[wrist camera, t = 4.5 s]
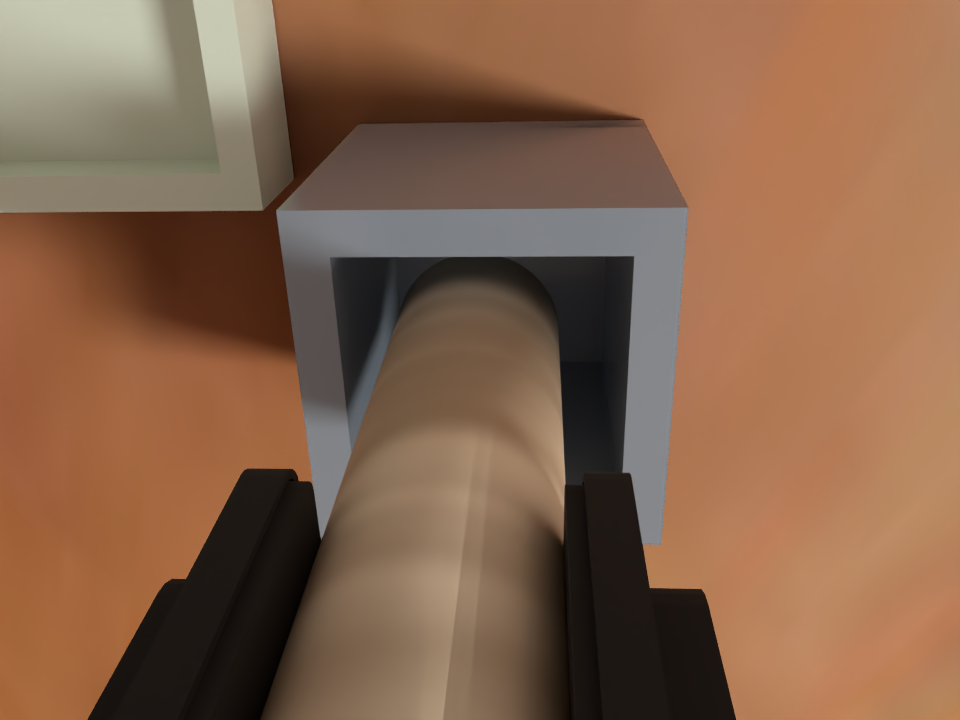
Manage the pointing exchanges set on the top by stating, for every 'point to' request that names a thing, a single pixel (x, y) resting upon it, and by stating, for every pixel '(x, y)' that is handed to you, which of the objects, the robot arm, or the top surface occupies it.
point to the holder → (496, 233)
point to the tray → (141, 106)
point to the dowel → (445, 521)
